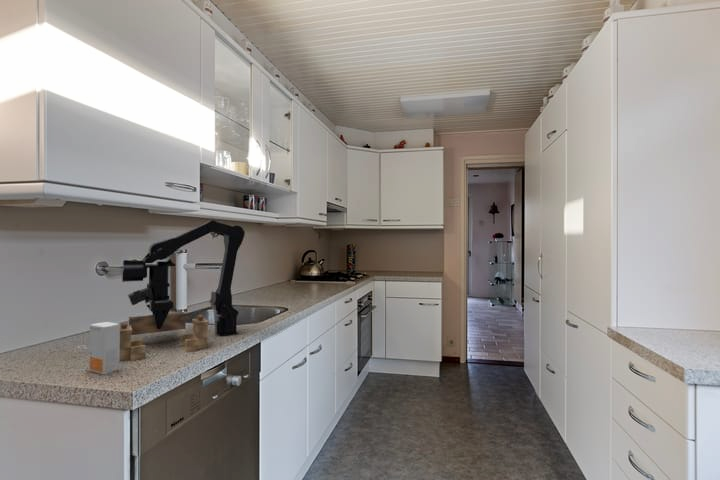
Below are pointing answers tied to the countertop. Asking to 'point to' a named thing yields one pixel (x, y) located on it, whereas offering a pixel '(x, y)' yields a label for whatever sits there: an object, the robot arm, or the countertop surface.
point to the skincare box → (104, 347)
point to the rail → (149, 324)
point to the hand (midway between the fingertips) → (158, 327)
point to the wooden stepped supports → (189, 340)
